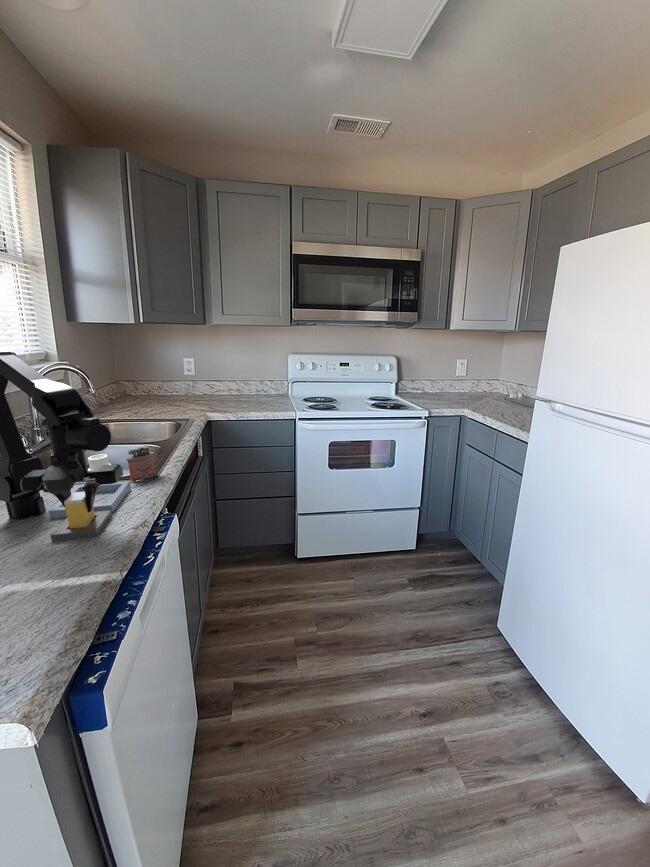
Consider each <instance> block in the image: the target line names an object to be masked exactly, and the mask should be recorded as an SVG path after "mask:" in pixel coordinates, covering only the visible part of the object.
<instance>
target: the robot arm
mask: <svg viewBox="0 0 650 867" xmlns="http://www.w3.org/2000/svg"><path fill="white" fill-rule="evenodd" d="M9 382H10V383H12V384H13V385H14V386H16V387H17V388H18V389H19V390H21V391H22V392H24V393H25V394H26V395H27V396H29V398H31V406H32V407H33V408H34V410H36V411H37V412H38V413H39V414H40V415H41V416H42V417H44V418H45V419H43V420H42V421H41V422H40V425H41V426H42V427H47V432H48V437H49V440H50V441H49V442H50V446H51V451H52V454H51V455H50V456H49V457H50V459H49V461H50V465H49V467H47V468H46V469H44V467H43V465H42V464H43V463H42V461H41V458H39V457H38V456H33V455H32V454H30V453H29V452H28V451H27V449H26V447H25V444H24V442H23V438H22V436H21V433H20V431H19V428H18V426H17V423H16V420H15V417H14V415H13V412H12V409H11V407H10V405H9V402H8V400H7V397H6V394H5V393H6V390H7V387H8V384H9ZM91 410H92V408H90V407H89V406H88V405H87V403H86V402H85V401H84V399H83V397H81V395H80V393H79V392H78V391H77V390H76V388H74V387H72V386H70V385H68V384H65V383H63V382H59V381H55V380H54V381H53V380H51V379H48V378H47V377H45V375H43V374H41V373H40V372H38V371H37V370H36V369H34V368H33V367H32V366H30V365H29V364H28V363H26V362H25V361H23V360H22V359H20V358H19V357H18V356H17V354H16V353H15V351H12V350H9V349H7V350H0V458H1V461H0V501H1V502H4V503H5V506H6V510H7V513H8V518H9V519H12V520H13V519H14V520H25V519H30V518H33V517H38V516H42V515H43V514H44V513H45V512H46V505H45V501H44V497H43V496H42V495H41V491H43V493H49V494H52V495H53V496H55V497H56V499H57V500H59V501H60V502H61V503H62V504H63V506H64V507H65V504H64V501H65V500H66V499H67V498H68V497H69V496H71V490H72V489H73V488H74V487H75V485H74V484H76V483H81V482H82V481H84V482H85V484H83V485H84V486H83V487H82V489H83V490H84V492H85V497H86V506H87V510H88V512H91V511H92V507H93V504H94V503H95V498H96V496H97V495H96V492H97V489H98V487H99V486H100V485H104V484H114V483H116V482H118V481H119V480H120V479H121V478H122V477H123V475H124V471H123V467H122V466H121V465H120V464H119V463H115V464H111V465H102V466H101V467H100V468H99V469H98V470H96V471H88V469H89V468H90V466H89V463H87V458H86V454H85V453H86V452H87V451H91V452H102V451H104V450H106V449H107V447H108V446H109V445H110V443H111V440H112V433H111V430H109V427H108V426H106V425H105V424H103V423H101V422H100V418H99V417H95V416H94V414H93V412H92V411H91Z"/></svg>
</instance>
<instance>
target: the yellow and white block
mask: <svg viewBox="0 0 650 867" xmlns="http://www.w3.org/2000/svg"><path fill="white" fill-rule="evenodd" d="M64 504H65V508H66V513H67V517H66V518H68V523H69V528H70V529H71V528H81V527H87V526H88V525H89V524H90V522H91V521H92V520H93V519H94V518H95V513H94V508H93V507H92V511H91V512H88V510H87V506H86V497H85V492H74V493H73V494H72V495H71V496H69V497H68V498H67V499H66V500H65V501H64Z"/></svg>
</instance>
